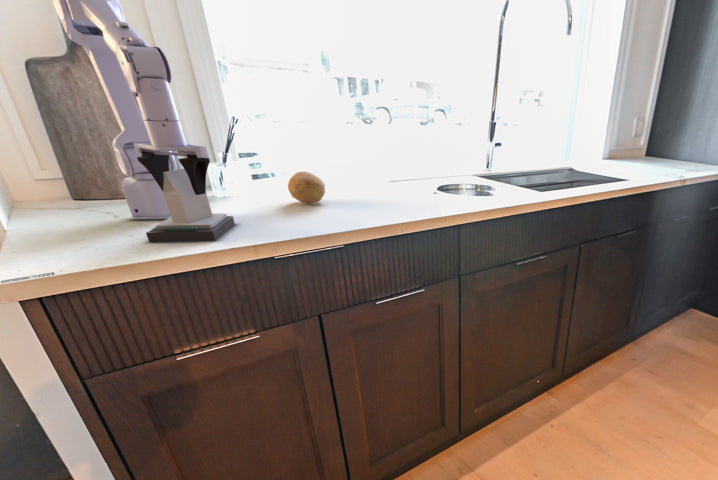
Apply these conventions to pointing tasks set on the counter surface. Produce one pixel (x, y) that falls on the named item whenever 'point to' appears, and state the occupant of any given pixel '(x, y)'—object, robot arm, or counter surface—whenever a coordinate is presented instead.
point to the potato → (306, 187)
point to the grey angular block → (184, 198)
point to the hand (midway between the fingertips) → (184, 192)
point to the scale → (191, 229)
